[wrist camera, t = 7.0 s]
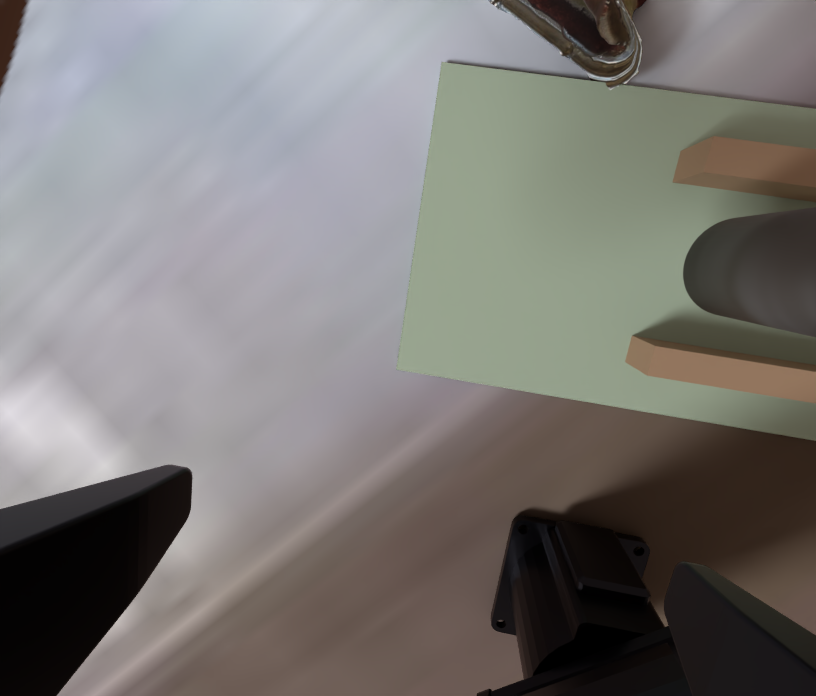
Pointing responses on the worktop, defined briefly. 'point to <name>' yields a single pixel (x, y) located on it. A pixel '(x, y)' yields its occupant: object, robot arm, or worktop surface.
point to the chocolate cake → (586, 33)
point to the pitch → (602, 246)
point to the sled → (757, 270)
